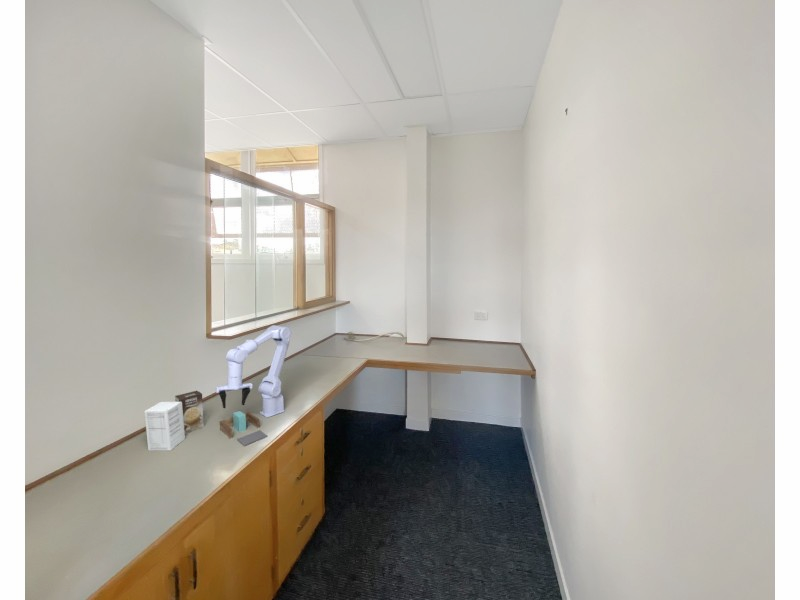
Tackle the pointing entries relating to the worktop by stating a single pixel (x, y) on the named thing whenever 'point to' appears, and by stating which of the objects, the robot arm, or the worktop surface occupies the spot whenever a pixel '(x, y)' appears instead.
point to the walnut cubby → (229, 423)
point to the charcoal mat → (252, 438)
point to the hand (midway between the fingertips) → (233, 406)
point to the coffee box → (191, 410)
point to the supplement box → (164, 426)
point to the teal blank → (239, 421)
